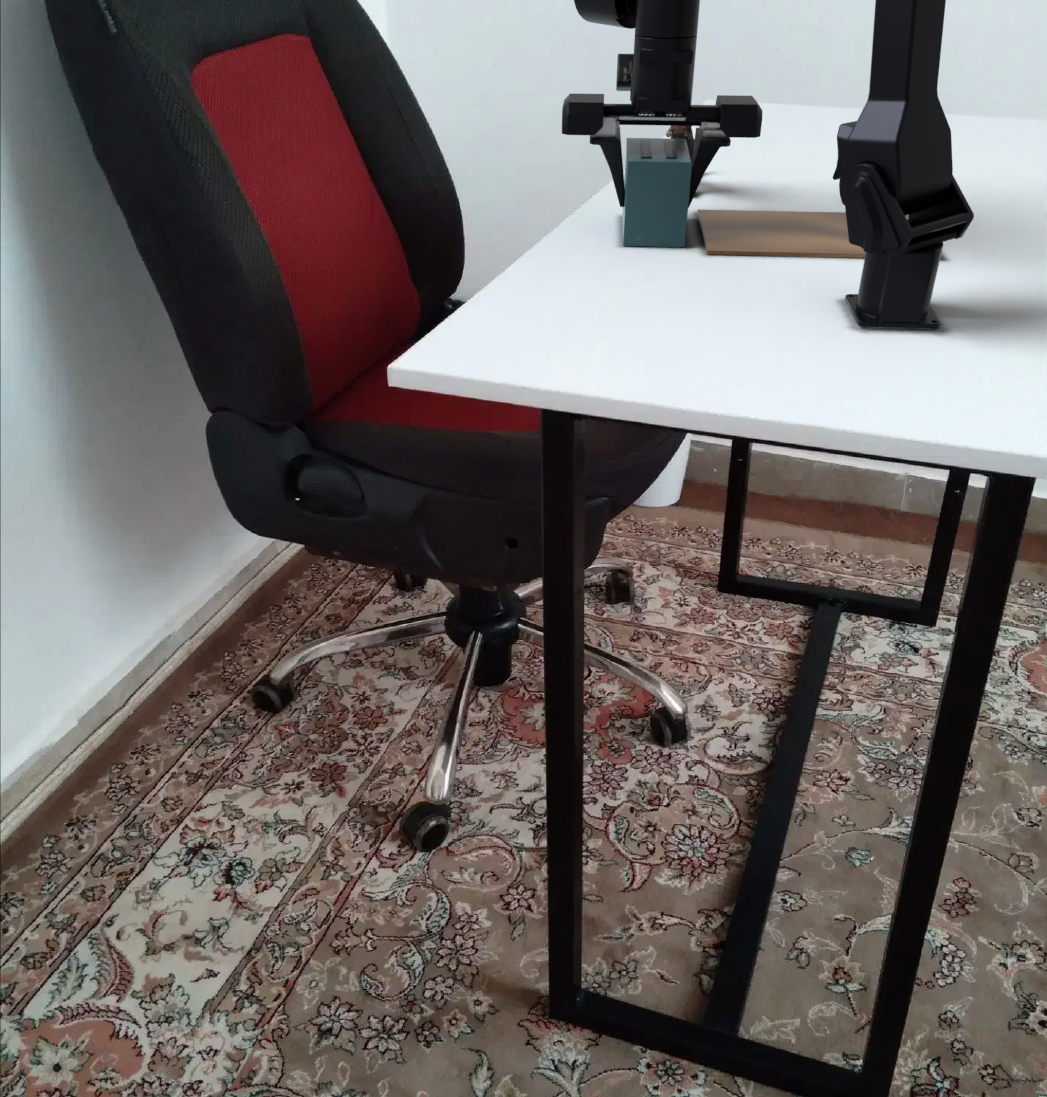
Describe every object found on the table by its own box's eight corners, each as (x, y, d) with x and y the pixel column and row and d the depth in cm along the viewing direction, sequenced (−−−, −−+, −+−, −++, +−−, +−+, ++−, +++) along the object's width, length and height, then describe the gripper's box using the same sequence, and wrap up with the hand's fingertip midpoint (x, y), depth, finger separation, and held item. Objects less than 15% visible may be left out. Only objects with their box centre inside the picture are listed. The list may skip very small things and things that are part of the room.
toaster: (684, 247, 101) (692, 161, 96) (623, 246, 101) (627, 160, 97) (678, 214, 110) (685, 134, 106) (622, 213, 110) (626, 133, 106)
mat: (941, 259, 98) (941, 255, 97) (706, 254, 99) (707, 250, 99) (906, 217, 109) (906, 213, 109) (696, 213, 111) (697, 209, 110)
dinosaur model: (668, 84, 108) (691, 70, 120) (653, 200, 114) (677, 175, 126) (706, 88, 107) (725, 74, 119) (689, 204, 113) (709, 179, 125)
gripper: (757, 23, 101) (739, 187, 110) (567, 22, 102) (564, 184, 111) (772, 40, 92) (751, 217, 101) (563, 38, 93) (560, 213, 102)
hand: (654, 206), depth 104 cm, fingers open, 6 cm apart
